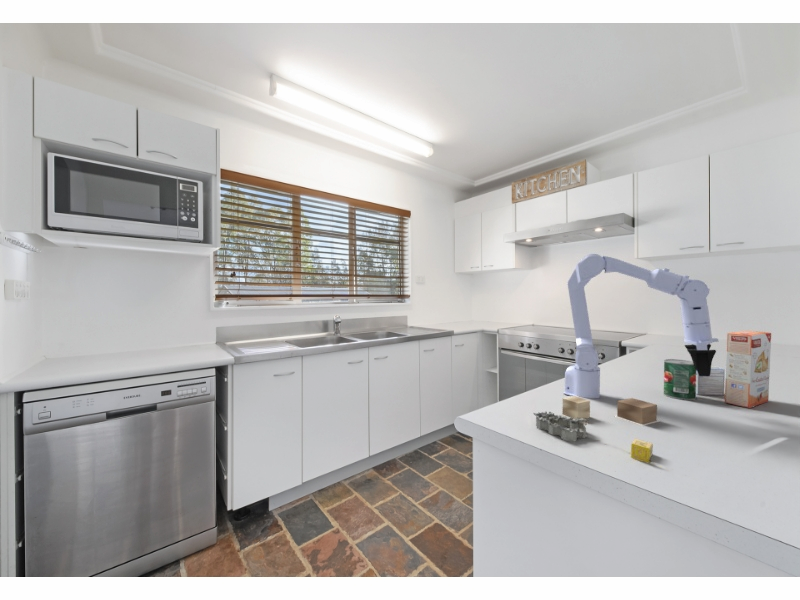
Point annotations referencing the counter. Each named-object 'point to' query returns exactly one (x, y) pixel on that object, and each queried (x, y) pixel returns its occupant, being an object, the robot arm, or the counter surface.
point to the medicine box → (711, 382)
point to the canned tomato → (679, 379)
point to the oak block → (576, 407)
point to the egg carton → (561, 425)
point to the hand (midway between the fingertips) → (702, 372)
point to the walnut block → (637, 411)
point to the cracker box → (747, 368)
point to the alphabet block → (641, 450)
